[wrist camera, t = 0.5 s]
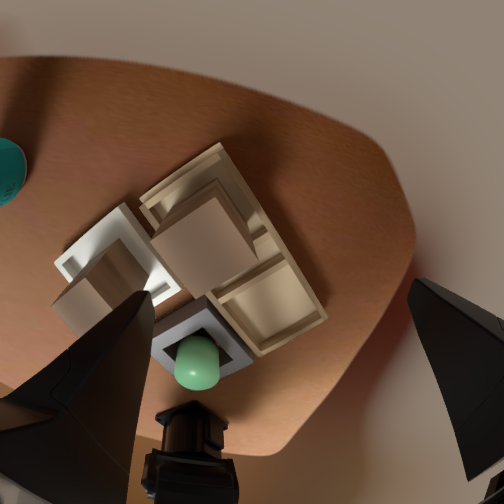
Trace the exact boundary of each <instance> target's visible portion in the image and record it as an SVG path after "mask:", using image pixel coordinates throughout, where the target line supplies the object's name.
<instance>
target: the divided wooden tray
mask: <svg viewBox="0 0 504 504" xmlns="http://www.w3.org/2000/svg"><path fill="white" fill-rule="evenodd" d="M215 178H218V180H219V181H220V183H221V184H222V186H223V187H224V189H225V190H226V192H227V193H228V195H229V196H230V198H231V199H232V201H233V202H234V204H235V205H236V207H237V208H238V210H239V211H240V213H241V214H242V216H243V217H244V219H245V221H246V222H247V224H248V227H249V231H250V234H251V237H252V240H253V244H254V247H255V250H256V253H257V257H258V260H259V262H257V263H255V264H254V265H252V266H250V267H249V268H247V269H246V270H244V271H242V272H241V273H239V274H237V275H236V276H234V277H232V278H231V279H229V280H227V281H226V282H224V283H222V284H221V285H219V286H217V287H216V288H214V289H212V290H211V291H209V292H207V293H206V294H205V295H206V296H207V297H208V298H209V300H210V301H211V302H212V303H213V305H214V306H215V307H216V308H217V309H218V311H219V312H220V313H221V314H222V315H223V317H224V318H225V319H226V320H227V321H228V323H229V324H230V325H231V326H232V327H233V328H234V330H235V331H236V332H237V333H238V334H239V336H240V337H241V338H242V339H243V340H244V341H245V342H246V344H247V345H248V346H249V347H250V348H251V349H252V350H253V352H254V353H255V354H256V355H257V356H258V357H261V356H263V355H265V354H267V353H269V352H271V351H273V350H274V349H276V348H278V347H280V346H282V345H284V344H286V343H287V342H289V341H291V340H293V339H295V338H296V337H298V336H300V335H302V334H304V333H305V332H307V331H309V330H311V329H312V328H314V327H316V326H317V325H319V324H321V323H323V322H324V321H326V320H328V319H329V318H328V316H327V314H326V312H325V310H324V309H323V307H322V305H321V303H320V302H319V300H318V298H317V297H316V295H315V293H314V292H313V290H312V288H311V287H310V285H309V283H308V282H307V280H306V278H305V277H304V275H303V273H302V272H301V270H300V268H299V267H298V265H297V263H296V262H295V260H294V258H293V257H292V255H291V254H290V252H289V250H288V249H287V247H286V245H285V244H284V242H283V240H282V239H281V237H280V236H279V234H278V232H277V231H276V229H275V228H274V226H273V224H272V223H271V221H270V220H269V218H268V216H267V215H266V213H265V212H264V210H263V208H262V207H261V205H260V204H259V202H258V201H257V199H256V197H255V196H254V194H253V193H252V191H251V190H250V188H249V186H248V185H247V183H246V182H245V180H244V179H243V177H242V176H241V174H240V172H239V171H238V169H237V168H236V166H235V165H234V163H233V162H232V160H231V159H230V157H229V156H228V154H227V152H226V151H225V149H224V148H223V146H222V145H221V143H220V142H219V143H217V144H216V145H214V146H213V147H211V148H210V149H208V150H206V151H205V152H203V153H202V154H200V155H199V156H197V157H196V158H194V159H193V160H191V161H190V162H188V163H187V164H186V165H184V166H183V167H181V168H180V169H178V170H177V171H175V172H174V173H173V174H171V175H170V176H168V177H167V178H166V179H164V180H163V181H161V182H160V183H159V184H157V185H156V186H155V187H153V188H152V189H150V190H149V191H148V192H146V193H145V194H144V195H142V196H141V197H140V198H139V199H140V200H141V202H142V203H143V204H142V205H141V206H140V207H139V209H140V210H141V211H142V213H143V214H144V216H145V217H146V218H147V220H148V221H149V222H150V224H151V225H152V226H153V228H154V229H155V230H156V231H157V229H158V227H159V226H160V224H161V223H162V221H163V220H164V218H165V217H166V215H167V214H168V212H169V210H170V209H171V208H172V207H174V206H175V205H177V204H178V203H180V202H181V201H182V200H184V199H185V198H187V197H188V196H190V195H191V194H193V193H194V192H196V191H197V190H199V189H200V188H202V187H203V186H205V185H206V184H208V183H209V182H211V181H212V180H214V179H215Z"/></svg>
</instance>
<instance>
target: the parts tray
mask: <svg viewBox="0 0 504 504" xmlns="http://www.w3.org/2000/svg"><path fill="white" fill-rule="evenodd" d="M118 238H120V239H121V241H122V242H123V243H124V245H125V246H126V247H127V248H128V250H129V251H130V252H131V254H132V255H133V256H134V257H135V259H136V260H137V261H138V263H139V264H140V265H141V266H142V268H143V269H144V270H145V271H146V272H147V274H148V275H149V279H148V281H147V283H146V285H145V287H144V290H148V291H149V292H150V294H151V298H152V302H153V306H154V307H155V306H156V305H158V304H159V303H161V302H163V301H164V300H166V299H167V298H169V297H171V296H172V295H174V294H175V293H177V292H179V291H180V290H182V286H183V283H182V282H181V281H180V280H179V279H178V277H177V276H176V275H175V274H174V272H173V271H172V270H171V269H170V267H169V266H168V265H167V263H166V262H165V261H164V260H163V258H162V257H161V256H160V255H159V253H158V252H157V251H156V249H155V248H154V247H153V245H152V244H151V243H150V240H151V238H150V236H149V235H148V234H147V232H146V231H145V230H144V228H143V227H142V226H141V224H140V223H139V222H138V220H137V219H136V217H135V216H134V215H133V213H132V212H131V211H130V209H129V208H128V206H127V205H126V204H125V202H123V203H122V204H120V205H119V206H118V207H116V208H115V209H114V210H113V211H111V212H110V213H109V214H108V215H107V216H105V217H104V218H103V219H102V220H101V221H100V222H98V223H97V224H96V225H95V226H94V227H92V228H91V229H90V230H89V231H88V232H87V233H86V234H84V235H83V236H82V237H81V238H80V239H79V240H78V241H77V242H76V243H74V244H73V245H72V246H71V247H70V248H69V249H68V250H67V251H66V252H65V253H64V254H63V255H61V256H60V257H59V258H58V259H57V260H56V261H55V262H54V264H55V265H56V267H57V268H58V269H59V270H60V272H61V273H62V274H63V276H64V277H65V278H66V279H67V281H68V282H69V283H70V282H71V281H72V280H73V279H74V278H75V277H76V276H77V274H78V273H79V272H80V271H81V270H82V269H83V268H84V267H85V265H86V264H87V263H88V262H90V261H91V260H92V259H93V258H94V257H96V256H97V255H98V254H99V253H101V252H102V251H103V250H104V249H106V248H107V247H108V246H109V245H111V244H112V243H113V242H114V241H116V240H117V239H118Z"/></svg>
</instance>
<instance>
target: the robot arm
mask: <svg viewBox="0 0 504 504" xmlns="http://www.w3.org/2000/svg"><path fill="white" fill-rule="evenodd" d="M407 303H408V306H409V309H410V312H411V315H412V318H413V321H414V324H415V327H416V330H417V333H418V336H419V338H420V341H421V343H422V345H423V348H424V350H425V353H426V355H427V357H428V360H429V362H430V365H431V367H432V370H433V372H434V375H435V378H436V380H437V383H438V385H439V388H440V391H441V394H442V396H443V399H444V402H445V405H446V408H447V411H448V414H449V417H450V420H451V423H452V426H453V429H454V432H455V436H456V439H457V443H458V447H459V450H460V454H461V457H462V461H463V465H464V469H465V473H466V478H467V480H468V482H469V481H471V480H473V479H474V478H476V477H478V476H479V475H481V474H483V473H484V472H486V471H488V470H489V469H491V468H492V467H494V466H495V465H497V464H498V463H500V462H501V461H503V460H504V320H502V319H501V318H498V317H496V316H495V315H493V314H492V313H490V312H488V311H486V310H485V309H482V308H481V307H479V306H477V305H475V304H474V303H472V302H470V301H468V300H466V299H464V298H462V297H461V296H459V295H457V294H455V293H453V292H451V291H449V290H447V289H445V288H444V287H442V286H440V285H437V284H436V283H434V282H432V281H430V280H428V279H426V278H415V279H414V280H413V281H412V284H411V287H410V290H409V293H408V296H407ZM154 320H155V310H154V306H153V302H152V298H151V294H150V292H149V291H148V290H137V291H135V292H134V293H133V294H132V295H130V296H129V297H128V298H127V299H126V300H124V301H123V302H122V303H121V304H119V305H118V306H117V307H116V308H115V309H113V310H112V311H111V312H110V313H109V314H107V315H106V316H105V317H104V318H103V319H101V320H100V321H99V322H98V323H97V324H95V325H94V326H93V327H92V328H91V329H89V330H88V331H87V332H86V333H85V334H84V335H82V336H81V337H80V338H79V339H78V340H77V341H75V342H74V343H73V344H72V345H71V346H70V347H69V348H68V349H66V350H65V351H64V352H63V353H61V354H60V355H59V356H58V357H57V358H56V359H54V360H53V361H52V362H51V363H50V364H48V365H47V366H46V367H45V368H43V369H42V370H41V371H39V372H38V373H37V374H35V375H34V376H33V377H31V378H30V379H29V380H27V381H26V382H25V383H23V384H22V385H21V386H19V387H18V388H17V389H15V390H14V391H13V392H11V393H10V394H8V395H7V396H5V397H3V398H0V504H126V500H127V492H128V483H129V474H130V467H131V460H132V453H133V446H134V440H135V434H136V428H137V423H138V417H139V412H140V406H141V401H142V396H143V391H144V386H145V381H146V376H147V371H148V367H149V362H150V357H151V348H152V338H153V329H154ZM155 420H156V421H157V422H159V423H160V424H161V425H163V426H164V429H163V438H162V447H161V450H157V449H154V448H153V449H152V453H150V454H146V456H145V463H144V469H143V475H142V479H141V485H142V486H143V487H144V488H145V490H146V493H147V499H151V500H154V504H238V499H239V485H238V480H237V476H236V472H235V467H234V463H233V459H222V455H221V450H222V449H224V435H223V431H224V430H227V429H228V425H227V424H226V423H225V422H223V421H222V420H221V419H219V418H218V417H217V416H215V415H214V414H213V413H212V412H210V411H209V410H208V409H206V408H205V407H204V406H203V405H201V404H200V403H199V402H197V401H191V402H189V403H186V404H184V405H182V406H179V407H177V408H174V409H171V410H169V411H166V412H164V413H161V414H158V415H156V416H155ZM479 504H504V470H503V471H502V472H500V473H499V474H497V475H496V476H494V477H493V478H491V480H490V484H489V486H488V489H487V492H486V495H485V498H484V500H483V501H482V502H480V503H479Z"/></svg>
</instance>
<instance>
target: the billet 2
mask: <svg viewBox="0 0 504 504" xmlns="http://www.w3.org/2000/svg"><path fill="white" fill-rule="evenodd" d="M150 243H151V244H152V245H153V247H154V248H155V249H156V251H157V252H158V253H159V255H160V256H161V257H162V258H163V260H164V261H165V262H166V263H167V265H168V266H169V267H170V269H171V270H172V271H173V272H174V274H175V275H176V276H177V277H178V279H179V280H180V281H181V282H182V283H183V285H184V286H185V287H186V288H187V290H188V291H189V292H190V293H191V294H192V296H193V297H194V298H195V299H197V298H199V297H201V296H202V295H204V294H206V293H207V292H209V291H211V290H212V289H214V288H216V287H217V286H219V285H221V284H222V283H224V282H226V281H227V280H229V279H231V278H232V277H234V276H236V275H237V274H239V273H241V272H242V271H244V270H246V269H247V268H249V267H250V266H252V265H254V264H255V263H257V262H259V260H258V257H257V253H256V250H255V247H254V244H253V240H252V237H251V234H250V231H249V227H248V224H247V222H246V221H245V219H244V217H243V216H242V214H241V213H240V211H239V210H238V208H237V207H236V205H235V204H234V202H233V201H232V199H231V198H230V196H229V195H228V193H227V192H226V190H225V189H224V187H223V186H222V184H221V183H220V181H219V180H218V178H215V179H214V180H212V181H211V182H209V183H208V184H206V185H205V186H203V187H202V188H200V189H199V190H197V191H196V192H194V193H193V194H191V195H190V196H188V197H187V198H185V199H184V200H182V201H181V202H180V203H178V204H177V205H175V206H174V207H172V208H171V209H170V210H169V212H168V214H167V215H166V217H165V218H164V220H163V221H162V223H161V224H160V226H159V227H158V229H157V231H156V232H155V234H154V235H153V237H152V238H151V240H150Z"/></svg>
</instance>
